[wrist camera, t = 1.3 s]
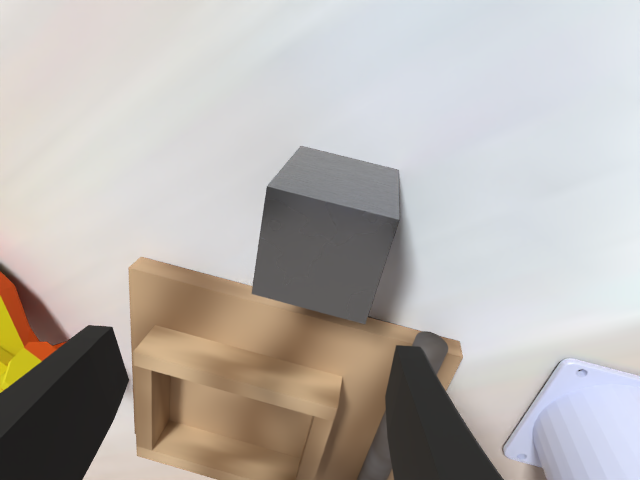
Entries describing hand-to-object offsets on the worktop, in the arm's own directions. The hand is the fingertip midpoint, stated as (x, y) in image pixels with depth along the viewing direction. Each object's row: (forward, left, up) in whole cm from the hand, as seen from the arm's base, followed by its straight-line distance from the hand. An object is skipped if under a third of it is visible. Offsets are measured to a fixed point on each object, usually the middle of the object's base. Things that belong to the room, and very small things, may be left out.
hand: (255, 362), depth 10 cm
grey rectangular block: (-1, -1, -10) cm, 10 cm away
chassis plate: (0, +12, -10) cm, 16 cm away
